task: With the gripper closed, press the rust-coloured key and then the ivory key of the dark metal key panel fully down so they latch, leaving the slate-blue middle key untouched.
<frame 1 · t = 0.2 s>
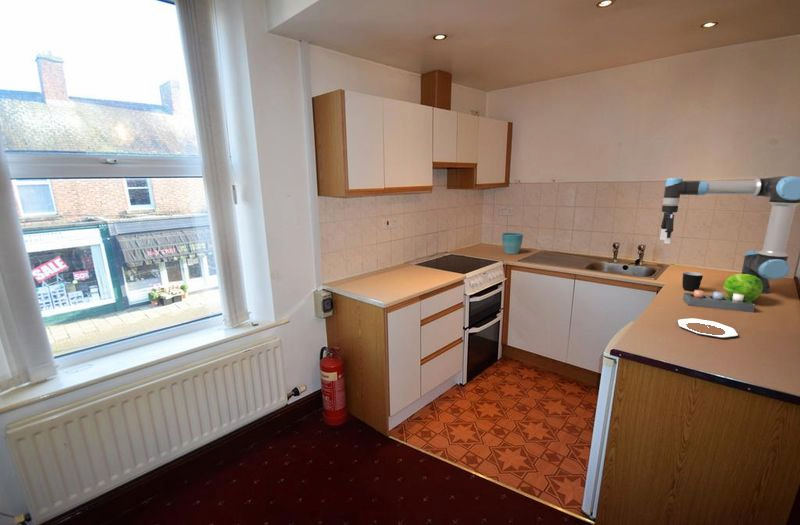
hand: (664, 241, 216), 28 cm above the counter, fingers open, 13 cm apart
key rust: (698, 294, 192), point 5 cm above the counter, slide at 0.0 cm
mug: (689, 289, 217), on the counter
flower pot: (511, 253, 326), on the counter
key slate: (717, 296, 188), point 5 cm above the counter, slide at 0.0 cm
key ivory: (737, 298, 185), point 5 cm above the counter, slide at 0.0 cm
lettuce: (740, 300, 198), on the counter
plate: (705, 330, 161), on the counter
panel: (716, 305, 190), on the counter
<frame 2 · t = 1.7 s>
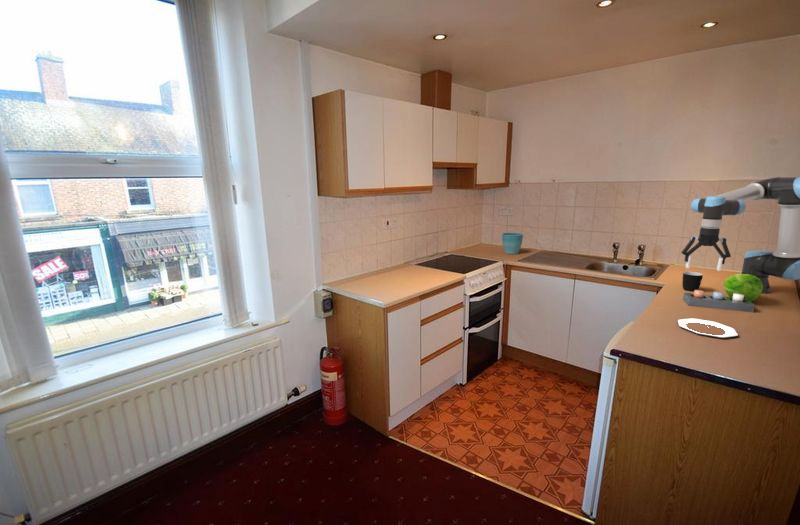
hand: (702, 269, 189), 19 cm above the counter, fingers open, 12 cm apart
nothing on the counter moved.
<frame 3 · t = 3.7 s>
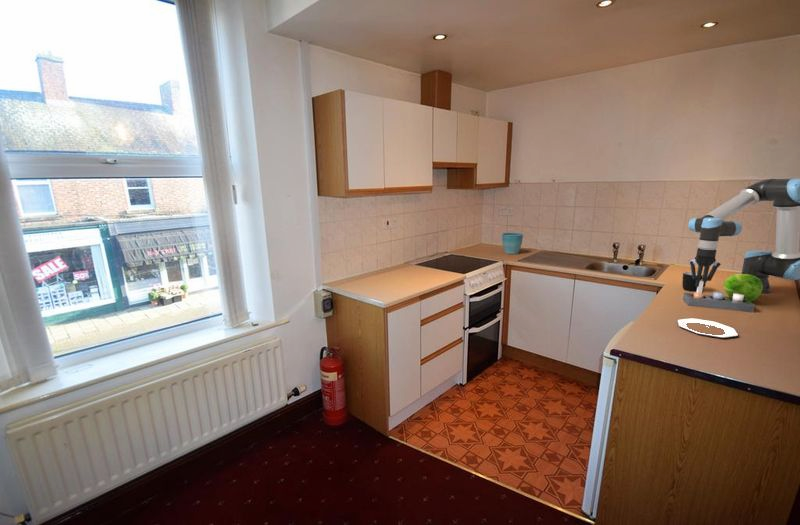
hand: (698, 292, 191), 6 cm above the counter, fingers closed
key rust: (698, 297, 192), point 4 cm above the counter, slide at 1.3 cm, touching gripper
everything else where it was.
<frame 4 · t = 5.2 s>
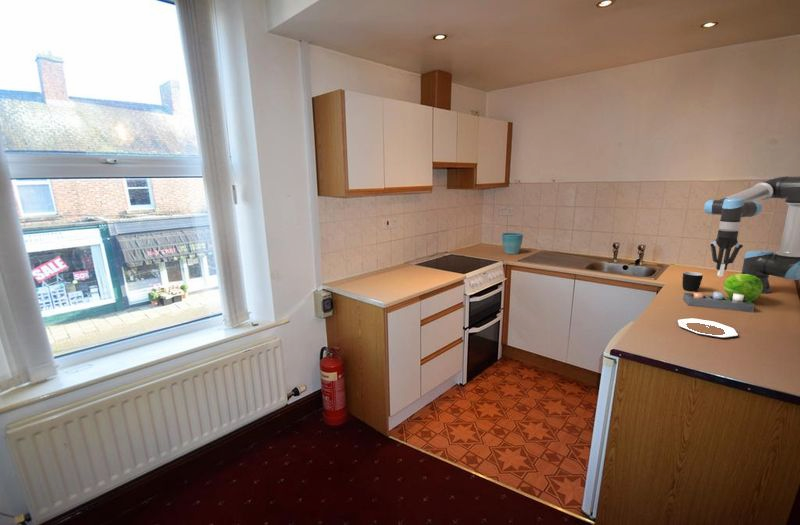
hand: (720, 276, 187), 16 cm above the counter, fingers closed
key rust: (698, 297, 192), point 4 cm above the counter, slide at 1.4 cm
everything else where it was.
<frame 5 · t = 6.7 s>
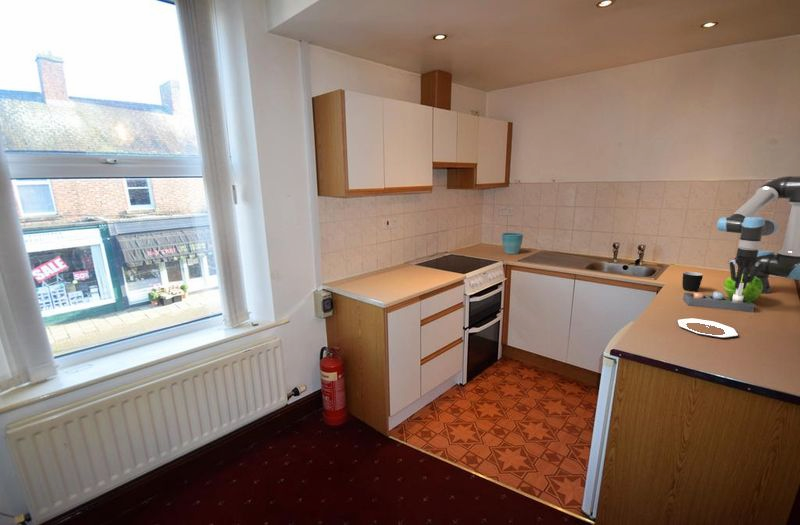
hand: (738, 294, 185), 7 cm above the counter, fingers closed
key ivory: (737, 299, 185), point 5 cm above the counter, slide at 0.4 cm, touching gripper
everything else where it was.
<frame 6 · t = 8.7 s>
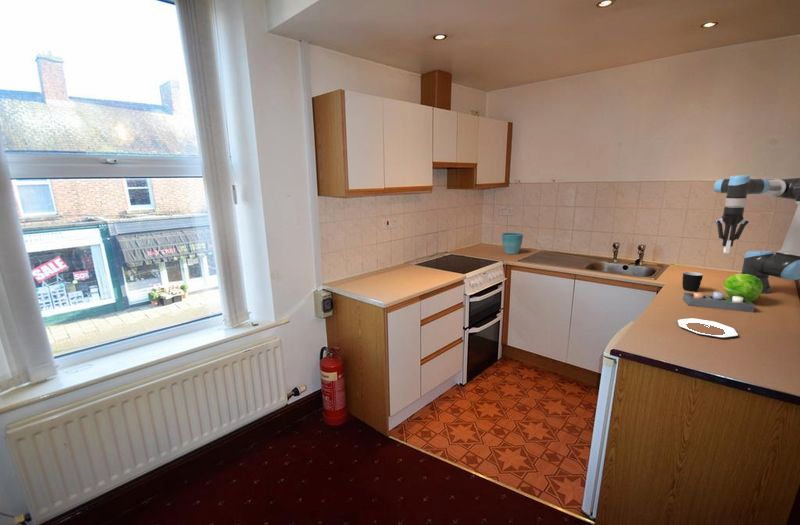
hand: (726, 252, 190), 27 cm above the counter, fingers closed
key ivory: (737, 300, 186), point 4 cm above the counter, slide at 1.4 cm
everything else where it was.
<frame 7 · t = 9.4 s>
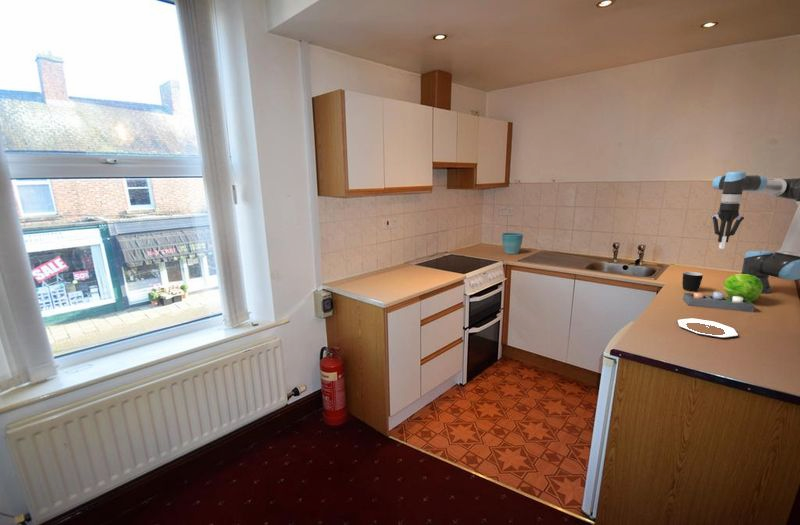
hand: (721, 248, 192), 28 cm above the counter, fingers closed
nothing on the counter moved.
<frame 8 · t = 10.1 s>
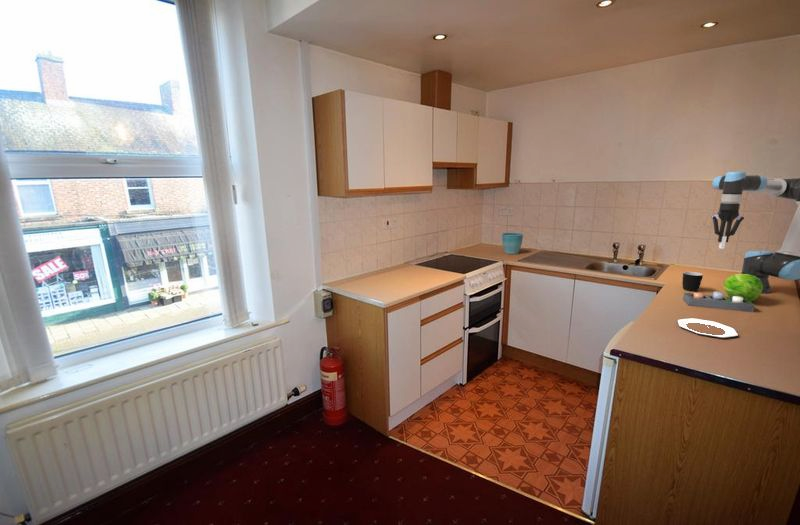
hand: (721, 248, 192), 28 cm above the counter, fingers closed
nothing on the counter moved.
at the end: key rust slide at 1.4 cm; key ivory slide at 1.4 cm; key slate slide at 0.0 cm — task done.
